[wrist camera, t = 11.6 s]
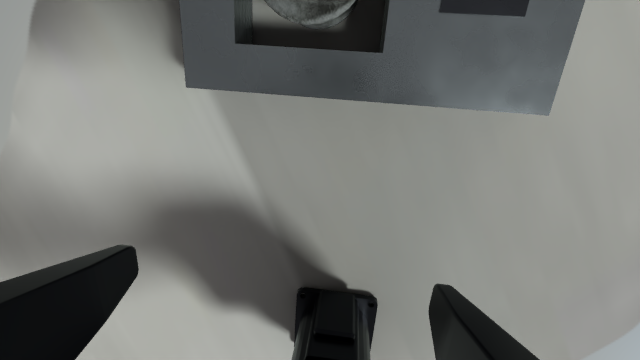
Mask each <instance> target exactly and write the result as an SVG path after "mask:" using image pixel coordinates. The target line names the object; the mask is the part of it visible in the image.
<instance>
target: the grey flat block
mask: <svg viewBox="0 0 640 360" xmlns="http://www.w3.org/2000/svg"><path fill="white" fill-rule="evenodd" d="M584 2H585V0H386V1H385V9H384V17H383V25H382V34H381V42H380V50H379V53H373V52H357V51H342V50H326V49H311V48H295V47H280V46H264V45H252V0H179V4H180V16H181V29H182V42H183V55H184V68H185V81H186V87H187V88H200V89H213V90H226V91H239V92H252V93H265V94H277V95H290V96H303V97H316V98H329V99H342V100H355V101H368V102H381V103H394V104H407V105H420V106H433V107H445V108H458V109H471V110H484V111H497V112H510V113H523V114H536V115H549V113H550V110H551V107H552V104H553V101H554V97H555V94H556V91H557V88H558V85H559V82H560V78H561V75H562V72H563V69H564V66H565V62H566V59H567V56H568V53H569V50H570V47H571V43H572V40H573V37H574V34H575V31H576V28H577V24H578V21H579V18H580V15H581V12H582V9H583V5H584Z"/></svg>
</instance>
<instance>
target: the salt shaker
mask: <svg viewBox="0 0 640 360" xmlns="http://www.w3.org/2000/svg"><path fill="white" fill-rule="evenodd" d="M265 2H266V3H267V4H268V5H269V6H270V7H271V8H272V9H273V10H274V11H275V12H276V13H277V14H278V15H280V16H282V17H284V18H285V19H287V20H289V21H291V22H294V23H298V24H300V25H302V26H304V27H308V28H313V29H323V28H329V27H331V26H334V25H336V24H338V23H340V22H341V21H342V20H344V19H345V18H346V17H348V15H349V14H350V13H351V12H352V10H353V9H354V8H355V6H356V4H357V2H358V0H265Z"/></svg>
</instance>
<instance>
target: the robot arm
mask: <svg viewBox="0 0 640 360" xmlns="http://www.w3.org/2000/svg"><path fill="white" fill-rule="evenodd" d="M138 270H139V268H138V262H137V255H136V250H135V248H134V247H133V246H128V245H117V246H114V247H110V248H107V249H104V250H101V251H98V252H95V253H91V254H88V255H85V256H82V257H79V258H76V259H73V260H69V261H66V262H63V263H60V264H57V265H54V266H50V267H47V268H44V269H41V270H38V271H35V272H31V273H28V274H25V275H22V276H19V277H16V278H13V279H9V280H6V281H3V282H0V360H75V359H76V358H77V357H78V355H79V354H80V353H81V352H82V351H83V349H84V348H85V347H86V346H87V344H88V343H89V342H90V341H91V340H92V338H93V337H94V336H95V335H96V333H97V332H98V331H99V330H100V328H101V327H102V326H103V325H104V323H105V322H106V321H107V319H108V318H109V316H110V315H111V314H112V312H113V311H114V309H115V308H116V306H117V305H118V303H119V302H120V300H121V299H122V298H123V296H124V295H125V293H126V292H127V290H128V289H129V287H130V286H131V284H132V283H133V281H134V280H135V278H136V277H137V275H138ZM301 293H304V294H305V295H302V294H301ZM370 302H372V303H373V304H369V303H370ZM377 306H378V305H377V299H376V298H375V297H372V296H365V295H358V294H350V293H342V292H334V291H327V290H319V289H311V288H300V289H299V290H298V293H297V302H296V322H295V342H294V351H293V356H292V360H370V349H371V343H372V337H373V331H374V325H375V318H376V312H377ZM429 319H430V326H431V332H432V338H433V344H434V351H435V357H436V360H539V359H538V358H537V357H536V356H535V355H533V354H532V353H531V352H530V351H529V350H527V349H526V348H525V347H524V346H523V345H521V344H520V343H519V342H518V341H517V340H515V339H514V338H513V337H512V336H511V335H509V334H508V333H507V332H506V331H505V330H504V329H502V328H501V327H500V326H499V325H498V324H496V323H495V322H494V321H493V320H492V319H490V318H489V317H488V316H487V315H486V314H484V313H483V312H482V311H481V310H480V309H478V308H477V307H476V306H475V305H474V304H472V303H471V302H470V301H469V300H468V299H466V298H465V297H464V296H463V295H462V294H460V293H459V292H458V291H457V290H456V289H454V288H453V287H452V286H450V285H445V284H436V285H435V286H434V288H433V292H432V296H431V300H430V305H429Z"/></svg>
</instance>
